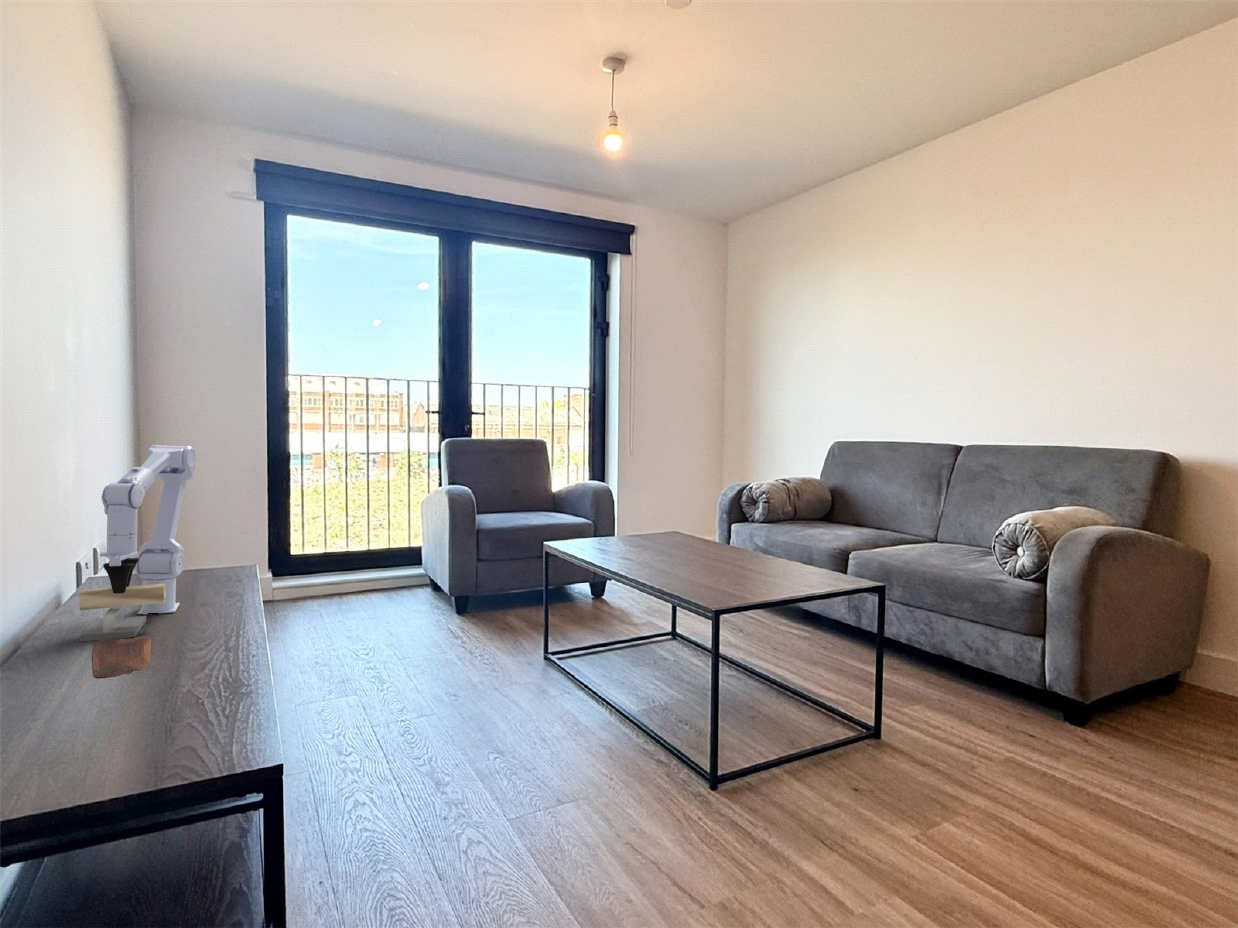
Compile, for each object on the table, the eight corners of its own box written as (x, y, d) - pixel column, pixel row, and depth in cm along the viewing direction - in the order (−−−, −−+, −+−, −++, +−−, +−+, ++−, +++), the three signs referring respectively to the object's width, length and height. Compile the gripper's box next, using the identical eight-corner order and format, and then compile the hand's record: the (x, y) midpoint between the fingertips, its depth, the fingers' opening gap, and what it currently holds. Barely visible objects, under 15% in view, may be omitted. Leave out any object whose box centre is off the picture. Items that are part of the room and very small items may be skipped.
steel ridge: (116, 618, 161) (116, 601, 161) (126, 617, 162) (126, 601, 162) (103, 632, 150) (103, 615, 150) (113, 631, 151) (114, 614, 150)
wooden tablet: (151, 667, 131) (87, 669, 126) (149, 678, 131) (85, 680, 126) (151, 633, 153) (97, 633, 147) (150, 643, 153) (95, 643, 147)
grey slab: (96, 625, 160) (96, 619, 160) (146, 621, 164) (146, 615, 164) (80, 641, 147) (80, 635, 147) (134, 637, 152) (135, 631, 152)
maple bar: (83, 607, 154) (82, 590, 154) (165, 599, 162) (165, 583, 162) (79, 610, 152) (79, 593, 151) (163, 602, 159) (163, 586, 159)
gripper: (108, 530, 160) (106, 585, 161) (93, 538, 148) (91, 599, 148) (143, 529, 164) (142, 584, 164) (131, 537, 151) (130, 597, 151)
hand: (120, 591), depth 156 cm, fingers closed on maple bar, 3 cm apart
